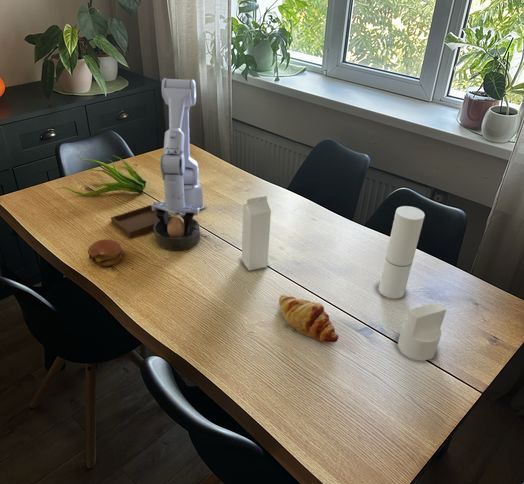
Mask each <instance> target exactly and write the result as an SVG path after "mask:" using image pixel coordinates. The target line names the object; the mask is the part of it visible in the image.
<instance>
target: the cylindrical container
mask: <svg viewBox="0 0 524 484" xmlns="http://www.w3.org/2000/svg"><path fill="white" fill-rule="evenodd" d="M394 213H395V214H394V218H393V219H394V220H393V222H392V228H391V232H390V236H389V241H388V245H387V248H386V249H387V250H386V253H385V258H384V263H383V267H382V272H381V276H380V280H379V281H380V282H379V284H378V292H379V293H380V294H381V295H382V296H384V297H386V298H388V299H400V298H403V297H404V295H405V292H406V289H407V284H408V281H409V277H410V273H411V269H412V266H413V262H414V259H415V255H416V250H417V248H418V247H417V246H418V243H419V239H420V235H421V231H422V229H423V228H422V227H423V223H424V220H425V217H426V215H425V212H424V211H423V210H421V209H420V208H418V207H415V206H408V205H402V206H399V207H397V208H396V210H395V212H394Z"/></svg>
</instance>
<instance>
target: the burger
mask: <svg viewBox="0 0 524 484" xmlns="http://www.w3.org/2000/svg"><path fill="white" fill-rule="evenodd" d="M87 254H88V259H89V260H91V263H93V264H94V265H100V266H102V267H109V266H113V265H115V264H117V263H118V262H120V261H121V258H122V257H123V255H124V249H123V248H122V245H121V244H120V242H118V241H116V240H112V239H108V238H107V239H105V238H103V239H99V240H96V241H94V242H93V243H91V244H90V246H89V247H88V249H87Z"/></svg>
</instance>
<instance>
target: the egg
mask: <svg viewBox="0 0 524 484" xmlns="http://www.w3.org/2000/svg"><path fill="white" fill-rule="evenodd" d="M172 216H173V217H171V218H170V220H169V222H168V224H167V231H168V233H169V235H170V236H171V237H172V238H182V237H183V236H184V235H185V224H184V220H183V218H182V217H180V216H181V215H175V214H174V215H172Z"/></svg>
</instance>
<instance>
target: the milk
mask: <svg viewBox="0 0 524 484" xmlns="http://www.w3.org/2000/svg"><path fill="white" fill-rule="evenodd" d="M271 215H272V210H271V207H270V205H269V203H268V196H267V195H264V196H256V197H251V198H247V200H246V203H244V204H242V232H241V233H242V235H241V237H242V238H241V261H242V263H243V265H244V266H245V267H246V269H247V270H248V271H255V270H259V269H264V268H268V266H269V265H268V263H269V250H270V249H269V248H270V247H269V246H270V231H271Z"/></svg>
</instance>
